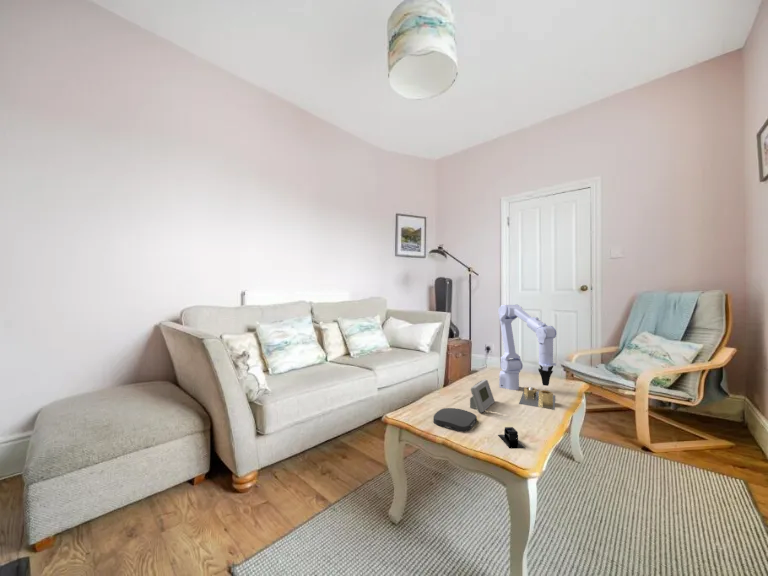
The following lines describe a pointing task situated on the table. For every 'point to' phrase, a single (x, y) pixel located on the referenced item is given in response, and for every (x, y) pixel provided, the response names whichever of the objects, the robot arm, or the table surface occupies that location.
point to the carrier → (533, 398)
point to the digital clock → (481, 396)
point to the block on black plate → (511, 438)
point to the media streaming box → (455, 419)
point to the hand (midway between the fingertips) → (546, 383)
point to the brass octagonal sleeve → (545, 397)
